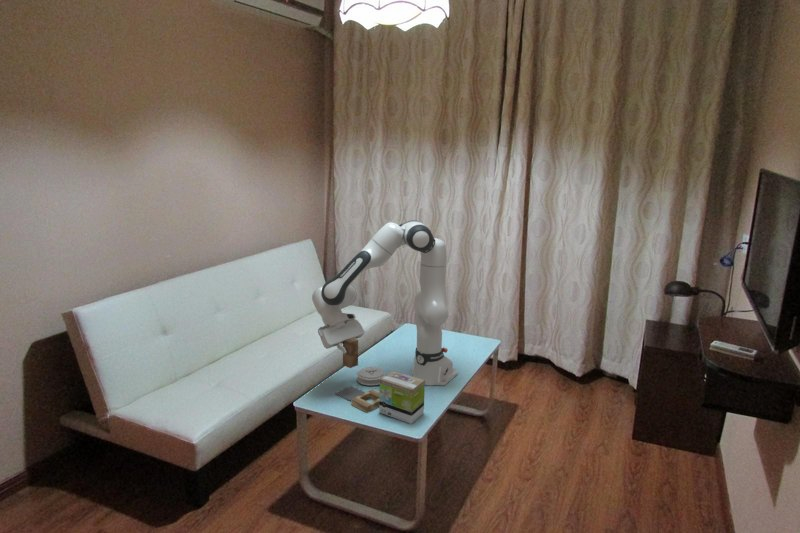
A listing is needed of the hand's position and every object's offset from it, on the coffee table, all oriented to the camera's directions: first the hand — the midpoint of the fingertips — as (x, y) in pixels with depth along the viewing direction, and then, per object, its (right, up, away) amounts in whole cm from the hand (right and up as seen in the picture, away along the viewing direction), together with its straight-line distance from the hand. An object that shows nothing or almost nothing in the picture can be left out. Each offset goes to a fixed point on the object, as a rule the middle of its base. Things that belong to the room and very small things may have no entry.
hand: (351, 351), depth 213 cm
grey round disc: (+7, -16, +18) cm, 25 cm away
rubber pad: (-1, -19, +5) cm, 20 cm away
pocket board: (+8, -21, -2) cm, 22 cm away
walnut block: (-1, -6, +2) cm, 6 cm away
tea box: (+20, -23, -9) cm, 32 cm away
